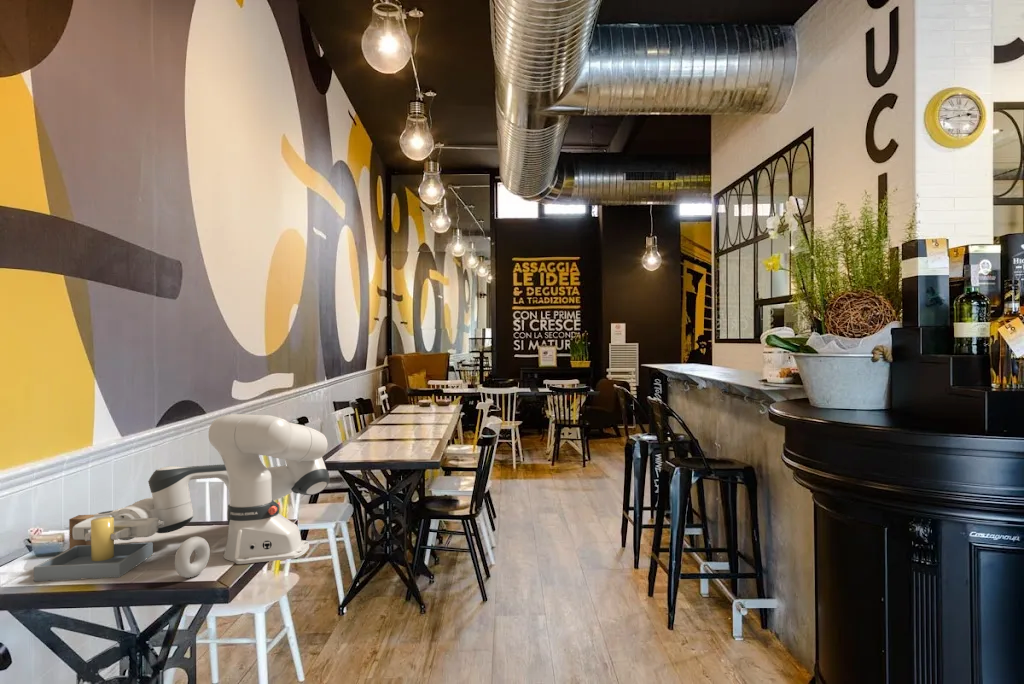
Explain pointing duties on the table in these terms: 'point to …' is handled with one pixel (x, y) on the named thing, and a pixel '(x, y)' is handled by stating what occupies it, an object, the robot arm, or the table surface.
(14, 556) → the table surface
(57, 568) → the tray
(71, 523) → the walnut block
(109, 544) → the mustard cylinder
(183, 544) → the donut
